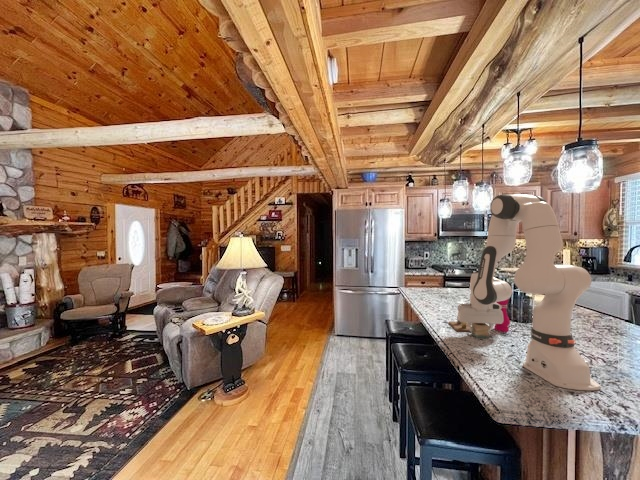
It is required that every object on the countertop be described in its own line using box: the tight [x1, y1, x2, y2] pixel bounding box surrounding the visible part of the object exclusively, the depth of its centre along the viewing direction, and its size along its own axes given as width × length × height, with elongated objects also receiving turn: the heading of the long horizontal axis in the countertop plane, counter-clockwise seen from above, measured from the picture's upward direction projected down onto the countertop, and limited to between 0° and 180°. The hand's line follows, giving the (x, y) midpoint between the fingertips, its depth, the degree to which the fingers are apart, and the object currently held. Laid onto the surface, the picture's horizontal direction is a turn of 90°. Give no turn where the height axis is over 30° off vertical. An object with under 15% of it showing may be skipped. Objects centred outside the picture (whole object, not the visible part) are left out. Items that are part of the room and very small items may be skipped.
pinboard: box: [448, 315, 471, 333], centre depth 154 cm, size 14×9×5 cm, turn 172°
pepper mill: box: [494, 299, 511, 333], centre depth 150 cm, size 7×7×20 cm
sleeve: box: [471, 323, 489, 339], centre depth 141 cm, size 6×6×6 cm
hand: (479, 331), depth 141 cm, fingers open, 6 cm apart
